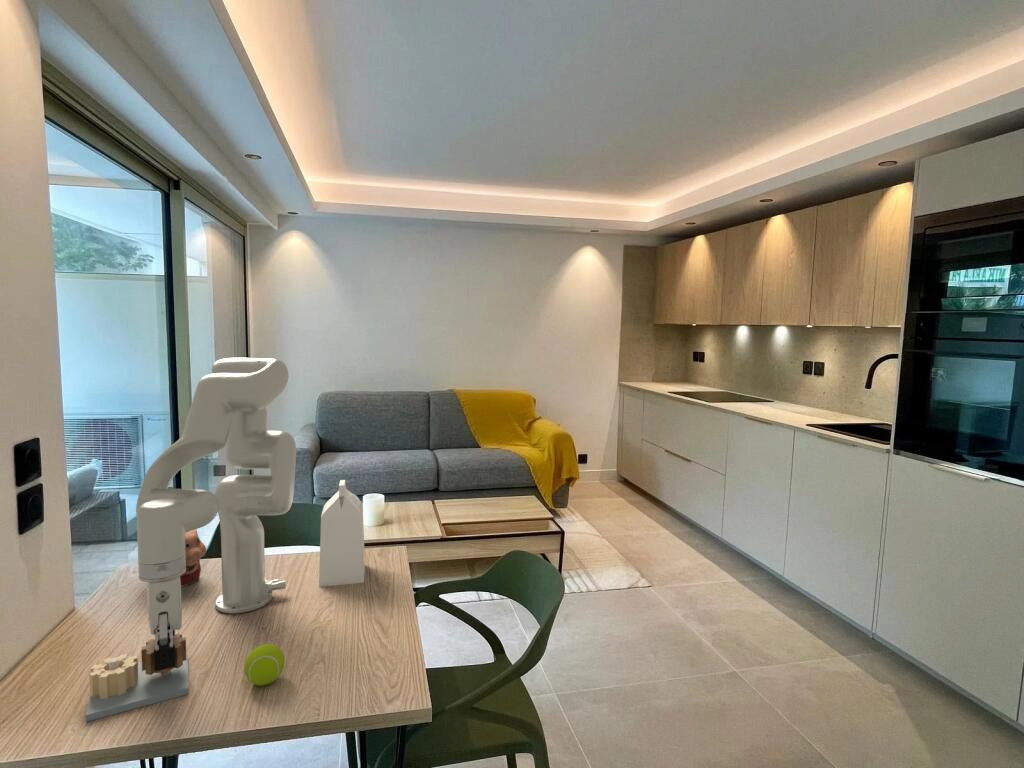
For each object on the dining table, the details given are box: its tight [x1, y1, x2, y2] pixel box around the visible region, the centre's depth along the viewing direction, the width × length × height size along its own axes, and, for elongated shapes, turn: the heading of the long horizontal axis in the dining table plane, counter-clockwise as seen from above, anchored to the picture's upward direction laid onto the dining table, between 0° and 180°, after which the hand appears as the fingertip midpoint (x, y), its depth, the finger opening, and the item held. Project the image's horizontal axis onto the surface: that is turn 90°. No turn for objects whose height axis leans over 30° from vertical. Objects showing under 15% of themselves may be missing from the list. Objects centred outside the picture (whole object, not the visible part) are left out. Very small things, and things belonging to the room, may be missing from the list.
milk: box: [318, 479, 366, 587], centre depth 152 cm, size 12×12×26 cm
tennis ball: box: [243, 643, 286, 686], centre depth 105 cm, size 7×7×7 cm
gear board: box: [85, 650, 190, 723], centre depth 104 cm, size 15×14×6 cm
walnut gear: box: [140, 633, 187, 675], centre depth 105 cm, size 7×7×4 cm
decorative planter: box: [180, 529, 207, 588], centre depth 148 cm, size 20×12×14 cm, turn 73°
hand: (165, 657), depth 105 cm, fingers closed on walnut gear, 7 cm apart
